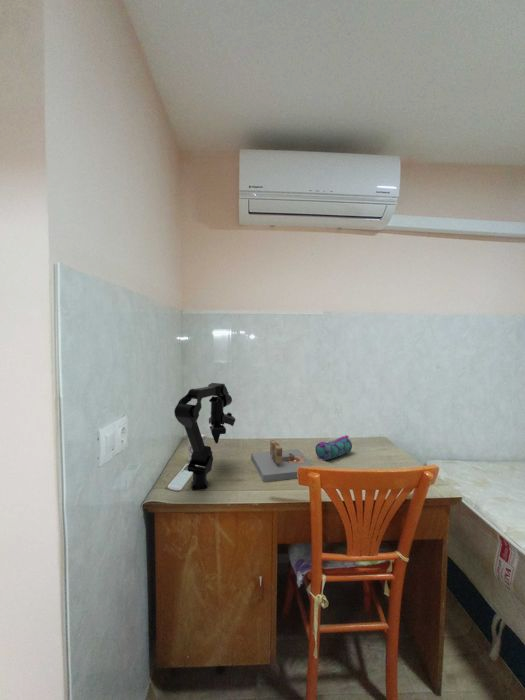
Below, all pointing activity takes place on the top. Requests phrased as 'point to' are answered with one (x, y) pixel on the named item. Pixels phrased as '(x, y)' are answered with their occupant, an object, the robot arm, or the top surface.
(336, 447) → the pencil case
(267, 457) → the deck
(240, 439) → the top surface
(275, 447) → the plunger
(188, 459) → the ink box
